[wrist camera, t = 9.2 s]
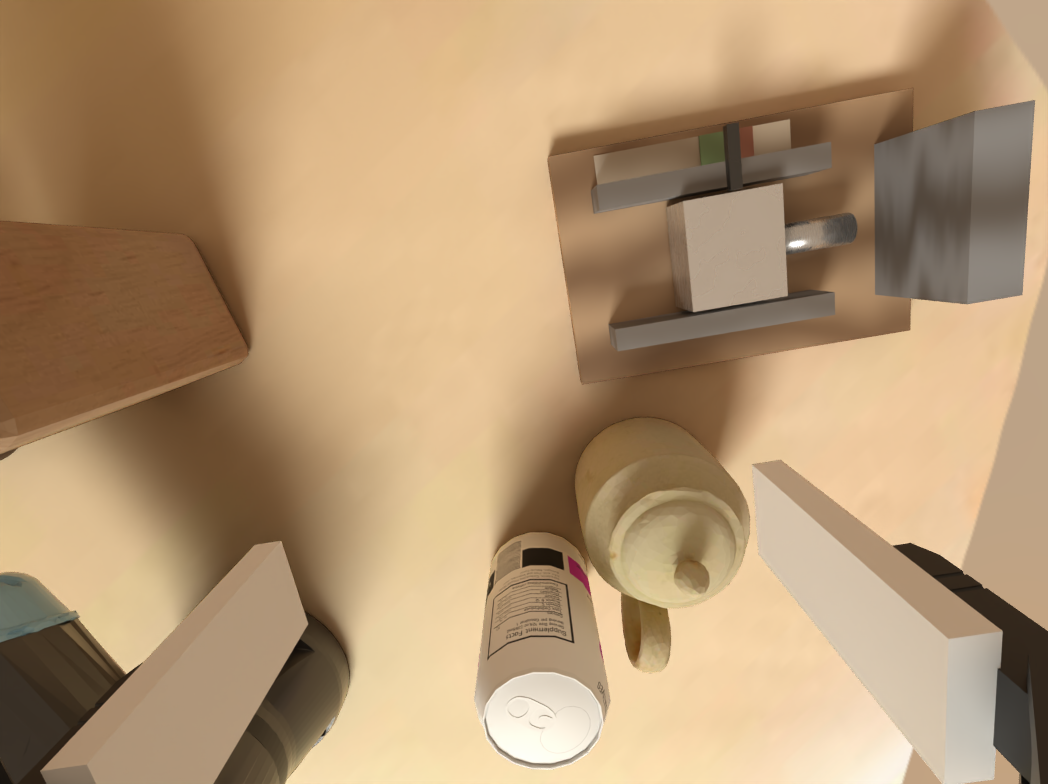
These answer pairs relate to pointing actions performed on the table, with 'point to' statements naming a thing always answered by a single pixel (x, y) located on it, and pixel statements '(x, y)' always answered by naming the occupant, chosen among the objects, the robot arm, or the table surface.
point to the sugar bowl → (658, 526)
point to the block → (101, 324)
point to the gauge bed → (808, 192)
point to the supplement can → (540, 655)
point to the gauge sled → (741, 240)
